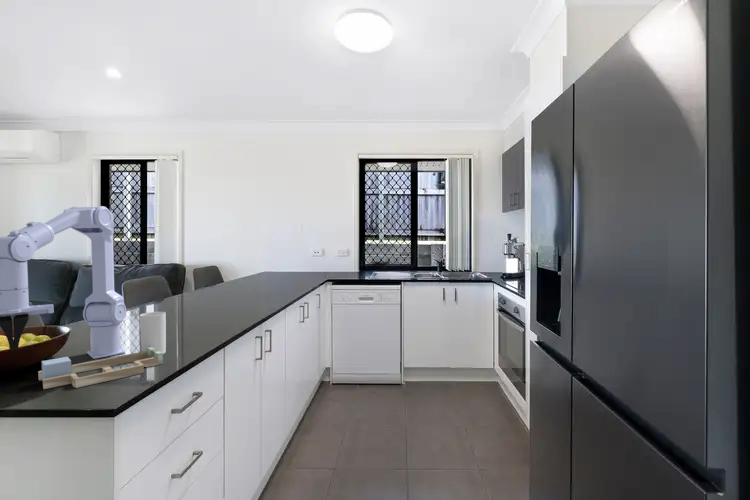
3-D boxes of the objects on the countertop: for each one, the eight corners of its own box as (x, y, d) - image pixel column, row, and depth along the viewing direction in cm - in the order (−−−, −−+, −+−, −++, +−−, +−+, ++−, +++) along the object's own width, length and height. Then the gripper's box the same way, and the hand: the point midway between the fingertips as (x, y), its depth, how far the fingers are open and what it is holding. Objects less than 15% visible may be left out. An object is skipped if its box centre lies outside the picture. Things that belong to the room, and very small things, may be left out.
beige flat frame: (38, 379, 98) (38, 367, 98) (151, 356, 116) (151, 346, 116) (46, 394, 88) (45, 381, 88) (168, 367, 106) (168, 356, 106)
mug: (164, 355, 117) (163, 314, 117) (138, 358, 115) (137, 316, 115) (169, 347, 127) (168, 309, 127) (145, 349, 125) (144, 311, 124)
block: (42, 381, 97) (41, 361, 97) (68, 376, 100) (67, 356, 100) (45, 386, 93) (44, 365, 93) (71, 381, 97) (71, 360, 97)
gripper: (-35, 294, 83) (-32, 359, 83) (54, 287, 93) (56, 345, 94) (-34, 291, 88) (-32, 352, 88) (50, 285, 98) (52, 340, 99)
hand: (13, 348), depth 91 cm, fingers closed
